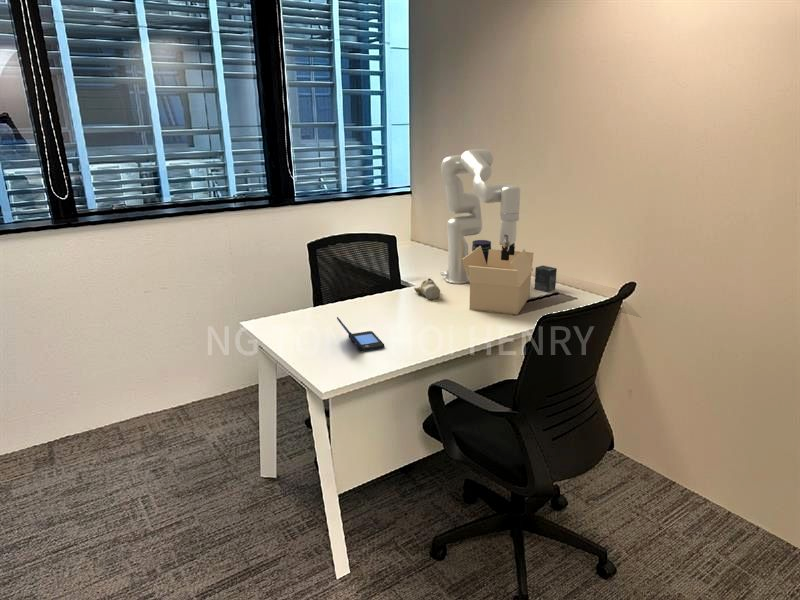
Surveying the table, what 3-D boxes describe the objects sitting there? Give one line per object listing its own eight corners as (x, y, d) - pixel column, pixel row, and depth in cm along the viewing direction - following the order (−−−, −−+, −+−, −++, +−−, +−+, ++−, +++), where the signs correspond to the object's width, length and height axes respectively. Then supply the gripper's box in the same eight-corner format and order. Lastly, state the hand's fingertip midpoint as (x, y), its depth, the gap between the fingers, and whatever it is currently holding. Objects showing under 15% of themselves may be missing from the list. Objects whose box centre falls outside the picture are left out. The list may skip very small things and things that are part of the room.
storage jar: (470, 271, 278) (470, 243, 274) (473, 266, 287) (473, 239, 283) (489, 272, 276) (490, 244, 271) (491, 267, 285) (492, 240, 280)
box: (555, 290, 245) (557, 268, 242) (548, 292, 242) (549, 270, 238) (541, 286, 251) (542, 264, 247) (533, 289, 247) (535, 267, 244)
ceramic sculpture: (422, 282, 230) (412, 275, 244) (423, 302, 232) (413, 294, 246) (445, 280, 233) (434, 274, 246) (445, 299, 235) (434, 292, 249)
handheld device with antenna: (385, 349, 186) (384, 324, 183) (348, 355, 181) (347, 330, 178) (371, 333, 199) (370, 310, 197) (337, 339, 195) (335, 315, 192)
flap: (510, 263, 209) (511, 262, 209) (523, 249, 231) (524, 248, 231) (519, 286, 210) (520, 285, 210) (531, 270, 232) (533, 269, 232)
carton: (458, 310, 221) (459, 260, 214) (480, 289, 248) (481, 244, 242) (515, 317, 212) (518, 265, 205) (531, 294, 239) (533, 248, 232)
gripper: (505, 213, 225) (503, 252, 231) (495, 219, 211) (493, 261, 216) (523, 213, 222) (521, 253, 228) (513, 220, 208) (511, 263, 213)
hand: (507, 257), depth 222 cm, fingers open, 9 cm apart
